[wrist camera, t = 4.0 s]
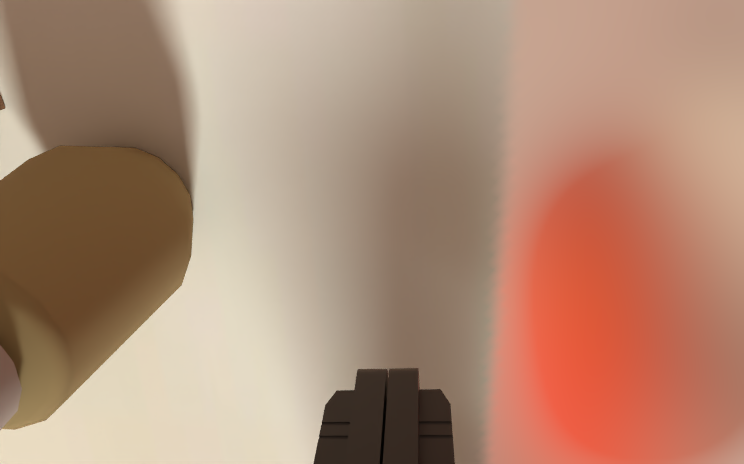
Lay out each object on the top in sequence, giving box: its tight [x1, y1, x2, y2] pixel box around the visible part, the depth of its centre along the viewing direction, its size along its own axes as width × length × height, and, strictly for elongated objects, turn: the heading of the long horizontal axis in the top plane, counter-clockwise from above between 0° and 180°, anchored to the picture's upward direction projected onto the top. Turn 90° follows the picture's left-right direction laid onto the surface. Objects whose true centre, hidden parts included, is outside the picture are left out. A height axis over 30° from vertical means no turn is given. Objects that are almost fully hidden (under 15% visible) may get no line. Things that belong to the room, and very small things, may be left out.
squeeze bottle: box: [0, 146, 193, 430], centre depth 21 cm, size 8×8×18 cm
